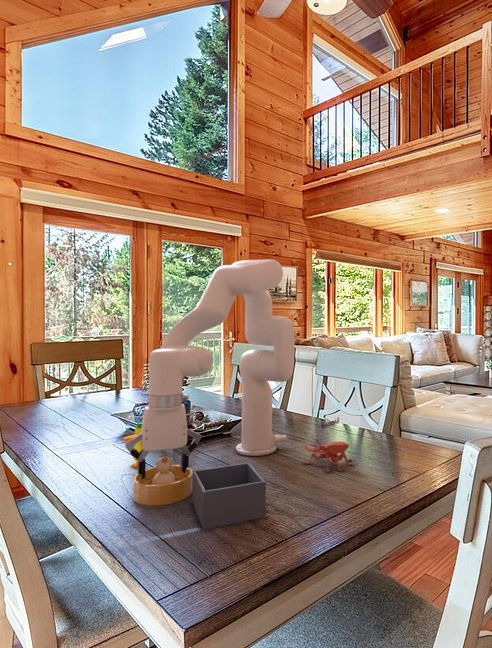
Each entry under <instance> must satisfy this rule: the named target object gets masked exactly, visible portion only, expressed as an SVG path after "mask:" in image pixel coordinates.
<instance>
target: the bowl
mask: <svg viewBox="0 0 492 648" xmlns="http://www.w3.org/2000/svg"><path fill="white" fill-rule="evenodd" d="M193 471H194V470H193V469H192V468H191V467H188V468H186V473H183V472H182V470H181V464H172V467H171V469H170V470H169V472H171V473H172V474H173V475H174V477H175V482H174V483H169V484H163V485H152V480H153V478H154V477H155V475H156V474H157V473H159V471H158V470H157V469H156V466H153V467H149V468H146V469H145V478H144V479H142V477H141V474H140V475H138V472H137V473H136V474H135V475H134V476H133V478H132V481H133V482H132V501H134V502H135V503H136V504H138V505H143V506H147V507H151V506H152V507H153V506H158V507H159V506H165V505H171V504H175V503H177V502H181V501H183V500H185V499H187V498H188V497H190V496H192V481H193Z"/></svg>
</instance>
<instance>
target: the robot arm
mask: <svg viewBox="0 0 492 648" xmlns="http://www.w3.org/2000/svg"><path fill="white" fill-rule="evenodd" d="M283 277H284V270H283V266H282V264H281V263H280V262H279V261H278V260H275V259H272V258H271V259H269V258H268V259H244V260H243V259H242V260H238V261H235V262H233V263H232V264H225V265H220V266H218V267H217V268H215V270H214V271H213V273H212V274H211V276H210V278H209V280H208V281H207V284H206V286H205V289H204V290H203V293H202V295H201V297H200V299H199V300H198V303H197V305H196V307H195V308H194V309H192V310H191V311H189V312H188V313H187V314H186V315H185V316H183V317H182V318H181V319H180V320H179V321H177V322H176V323H175V324H174V325H173V326H172V327H171V329H170V330H169V331H168V332H167V334H166V336H165V338H164V340H163V342H162V344H161V346H160V348H157V349H154V350H152V351H151V352H150V353H149V363H148V365H149V367H148V400H147V401H148V404H147V405H146V406H145V407H144V409H143V414H142V421H141V423H142V430H141V433H140V434H138V435H137V436H135V437H134V438H132V439H131V440H129V441H128V442H126V441H125V443H124V446H125V449H126V450H127V451H128V452H129V454H130V455H131V457H132V458H133V457H134V458H136V459H137V460H138V467H137V473H138V475H140V474H141V477H142V479H144V478H145V469H147V468H146V467H147V465H146V463H147V461H146V457H147V456H148V454H149V453H150V452H161V451H167V450H177V449H180V450H181V451H182V452H181V454H180V456H181V457H180V466H181V470H182V472H183V473H186V468H189V465H190V464H189V463H190V462H189V461H190V459H189V458H190V455H191V453H192V452H193V451H194V450H195V449H196V448H197V446H198V444H199V443H200V441H201V439H202V435H201V434H200V433H198V432H197V431H194V430H192V429H190V428H188V420H187V410H186V405H185V404H184V402H185V401H189V394H187V393H186V394H185V393H183V379H184V377H202V376H203V375H204V376H205V375H206V374H207V373H209V371H211V369H212V366H213V365H214V358H213V355H212V353H211V351H210V350H208V349H207V348H205V347H203V346H195V345H189V343H190V342H191V341H193V339H194V338H195V337H197V336H198V335H200V334H201V333H204V332H206V331H208V330H210V329H213V328H215V327H217V326H219V325H221V324H222V323H224V322H225V321H226V320H227V318H228V315H229V313H230V311H231V309H232V306H233V304H234V302H235V300H236V297H237V296H238V295H242V296H243V298H244V304H245V309H244V310H245V311H244V312H245V315H244V333H245V334H244V335H245V340H246V341H247V343H249V344H250V345H253V346H254V345H255V346H265V347H266V346H267V347H273V350H271V349H258V348H256V349H249V350H246V351H245V352H243V353H242V354H241V356H240V359H239V363H238V366H239V367H238V368H239V375H240V379H241V433H240V435H241V437H240V439H241V440H240V441H241V442H240V443H239V444H237V445H236V447H235V451H236V452H237V453H238V454H240V455H242V456H249V457H257V456H258V457H259V456H266V455H269V454H272V453H274V452H276V451H277V449H278V448H277V447H278V446H277V444H278V443H283V442H287V441H288V439H287V435H286V434H283V435H281V434H273V400H274V399H273V397H274V396H273V395H274V394H273V390H272V387H271V385H270V383H269V382H277V383H284V382H285V383H286V382H288V381H289V380H290V379H291V377H292V376H293V373H294V368H295V335H296V334H295V327H294V324H293V322H292V320H291V319H290V318H289V317H287V316H283V315H274V312H273V298H272V296H271V293H270V292H269V291H270V290H272V289H274V288H276V287H278V286H279V285H280V284H281V283H282V281H283ZM188 436H189V437H190V438H193V439H192V441H191V442H190V443H189V444H188ZM140 440H141V447H142V450H141V451H140V452H138V451H137V450H136V449H135V445H136V443H137V442H139V441H140ZM187 444H188V445H187ZM134 458H133V459H134Z"/></svg>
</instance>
